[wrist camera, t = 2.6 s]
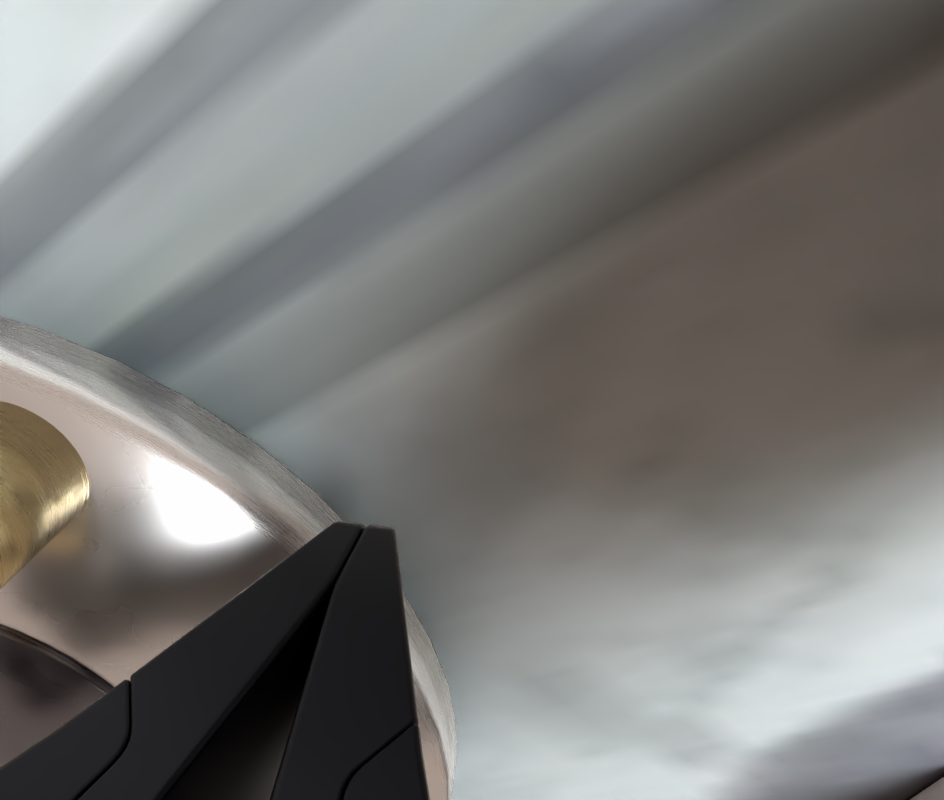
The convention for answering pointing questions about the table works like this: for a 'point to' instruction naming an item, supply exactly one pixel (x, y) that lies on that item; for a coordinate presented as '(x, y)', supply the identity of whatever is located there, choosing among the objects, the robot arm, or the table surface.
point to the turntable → (137, 536)
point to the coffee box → (932, 792)
